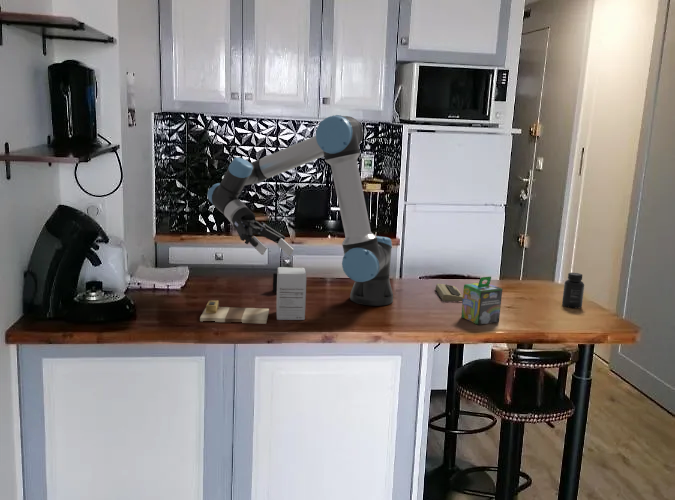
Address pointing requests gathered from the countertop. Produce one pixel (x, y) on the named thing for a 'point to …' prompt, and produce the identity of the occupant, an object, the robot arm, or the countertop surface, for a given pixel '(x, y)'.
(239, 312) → the plywood board
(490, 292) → the chalk box
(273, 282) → the digital camera
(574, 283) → the supplement bottle
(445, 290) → the tan flat block
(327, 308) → the countertop surface
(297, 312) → the supplement box
